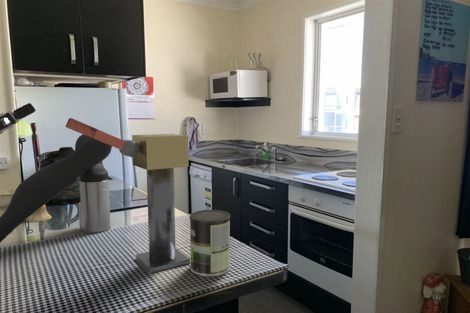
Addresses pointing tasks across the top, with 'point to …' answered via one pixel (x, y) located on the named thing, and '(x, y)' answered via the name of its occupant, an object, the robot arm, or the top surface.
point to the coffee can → (210, 242)
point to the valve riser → (161, 197)
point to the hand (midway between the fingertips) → (31, 107)
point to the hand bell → (39, 215)
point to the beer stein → (72, 190)
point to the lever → (105, 138)
